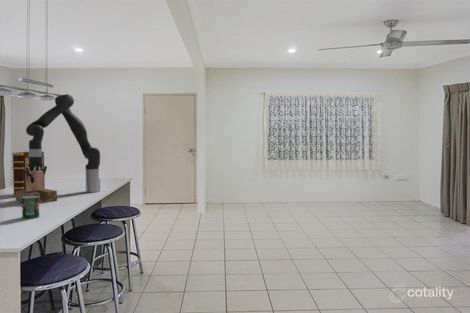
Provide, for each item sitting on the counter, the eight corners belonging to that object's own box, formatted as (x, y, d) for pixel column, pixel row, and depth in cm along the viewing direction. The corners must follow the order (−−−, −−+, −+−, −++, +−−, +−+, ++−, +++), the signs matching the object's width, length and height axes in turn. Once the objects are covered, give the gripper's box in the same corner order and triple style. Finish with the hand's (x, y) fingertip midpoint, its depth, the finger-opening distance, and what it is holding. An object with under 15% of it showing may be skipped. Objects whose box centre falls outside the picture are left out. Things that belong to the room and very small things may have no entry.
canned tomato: (19, 217, 188) (19, 196, 187) (35, 214, 194) (35, 194, 194) (26, 219, 183) (25, 198, 182) (42, 217, 189) (41, 196, 189)
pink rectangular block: (35, 188, 236) (34, 169, 235) (43, 189, 229) (43, 171, 229) (28, 188, 232) (28, 170, 231) (37, 190, 226) (37, 171, 225)
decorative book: (21, 197, 243) (20, 153, 240) (11, 196, 244) (9, 152, 242) (45, 191, 264) (44, 151, 262) (35, 191, 266) (34, 151, 264)
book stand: (40, 197, 244) (40, 187, 243) (57, 200, 232) (56, 190, 232) (15, 200, 230) (15, 190, 230) (31, 204, 219) (31, 194, 219)
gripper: (43, 155, 237) (43, 180, 239) (20, 156, 226) (21, 183, 227) (49, 155, 233) (50, 181, 234) (26, 156, 221) (27, 184, 223)
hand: (36, 182), depth 231 cm, fingers closed on pink rectangular block, 4 cm apart
